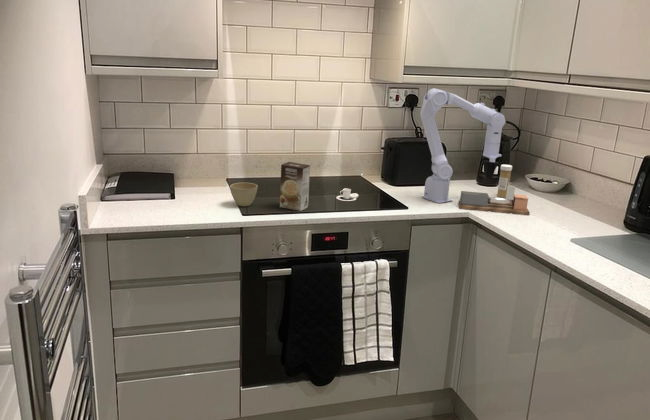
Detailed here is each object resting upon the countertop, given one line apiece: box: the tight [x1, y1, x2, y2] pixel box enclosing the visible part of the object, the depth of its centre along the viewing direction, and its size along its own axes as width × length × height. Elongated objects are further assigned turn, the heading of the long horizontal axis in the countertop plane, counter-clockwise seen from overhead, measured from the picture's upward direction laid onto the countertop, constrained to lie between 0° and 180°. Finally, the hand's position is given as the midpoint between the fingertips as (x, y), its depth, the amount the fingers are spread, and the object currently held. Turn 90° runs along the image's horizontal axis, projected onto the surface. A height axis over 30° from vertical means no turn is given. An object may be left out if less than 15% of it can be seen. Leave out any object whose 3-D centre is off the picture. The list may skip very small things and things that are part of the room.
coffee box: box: [279, 161, 311, 212], centre depth 194 cm, size 9×6×16 cm
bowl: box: [229, 182, 258, 207], centre depth 196 cm, size 10×10×7 cm
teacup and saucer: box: [335, 187, 359, 202], centre depth 211 cm, size 9×8×4 cm
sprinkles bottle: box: [496, 164, 513, 198], centre depth 224 cm, size 5×5×13 cm
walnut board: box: [457, 200, 530, 216], centre depth 206 cm, size 26×8×1 cm, turn 80°
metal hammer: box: [488, 185, 516, 206], centre depth 204 cm, size 14×3×8 cm, turn 80°
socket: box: [512, 193, 529, 211], centre depth 204 cm, size 4×5×5 cm
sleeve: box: [459, 190, 490, 207], centre depth 207 cm, size 10×4×4 cm, turn 80°
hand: (487, 176), depth 214 cm, fingers open, 7 cm apart
